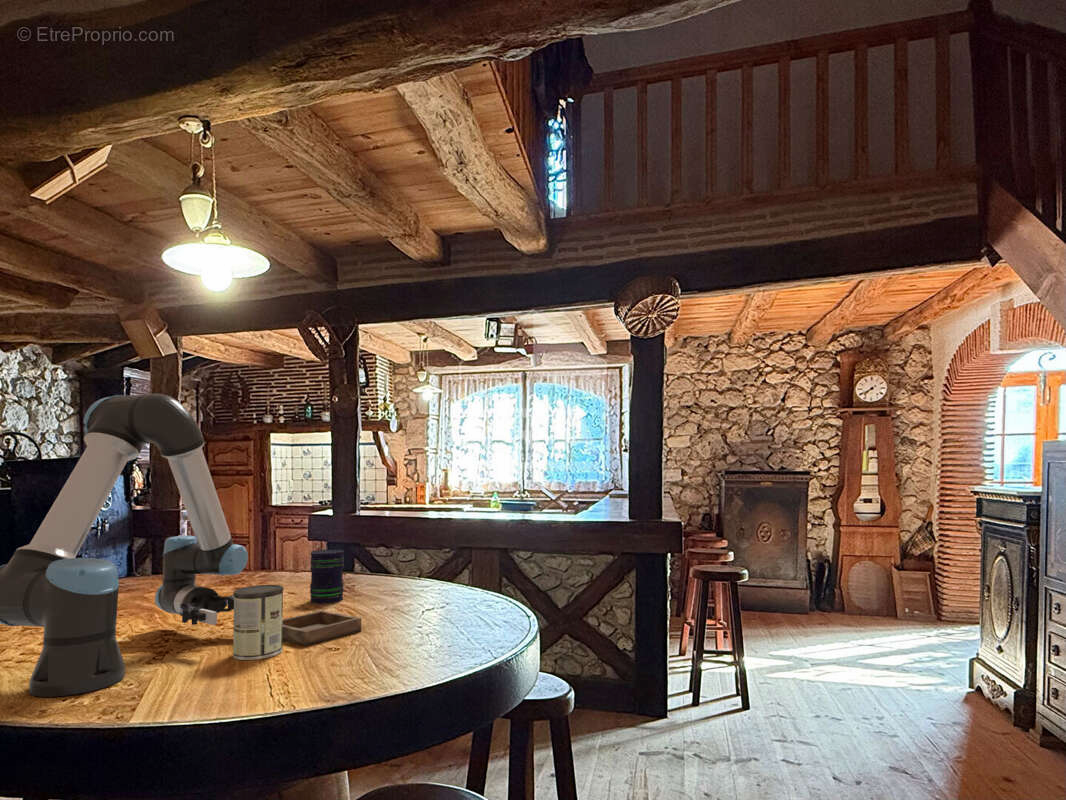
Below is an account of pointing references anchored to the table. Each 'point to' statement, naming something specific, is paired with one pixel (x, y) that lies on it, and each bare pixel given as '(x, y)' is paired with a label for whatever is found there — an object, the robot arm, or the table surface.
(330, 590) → the dark barrel
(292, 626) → the wooden tray
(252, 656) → the coffee can
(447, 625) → the table surface
